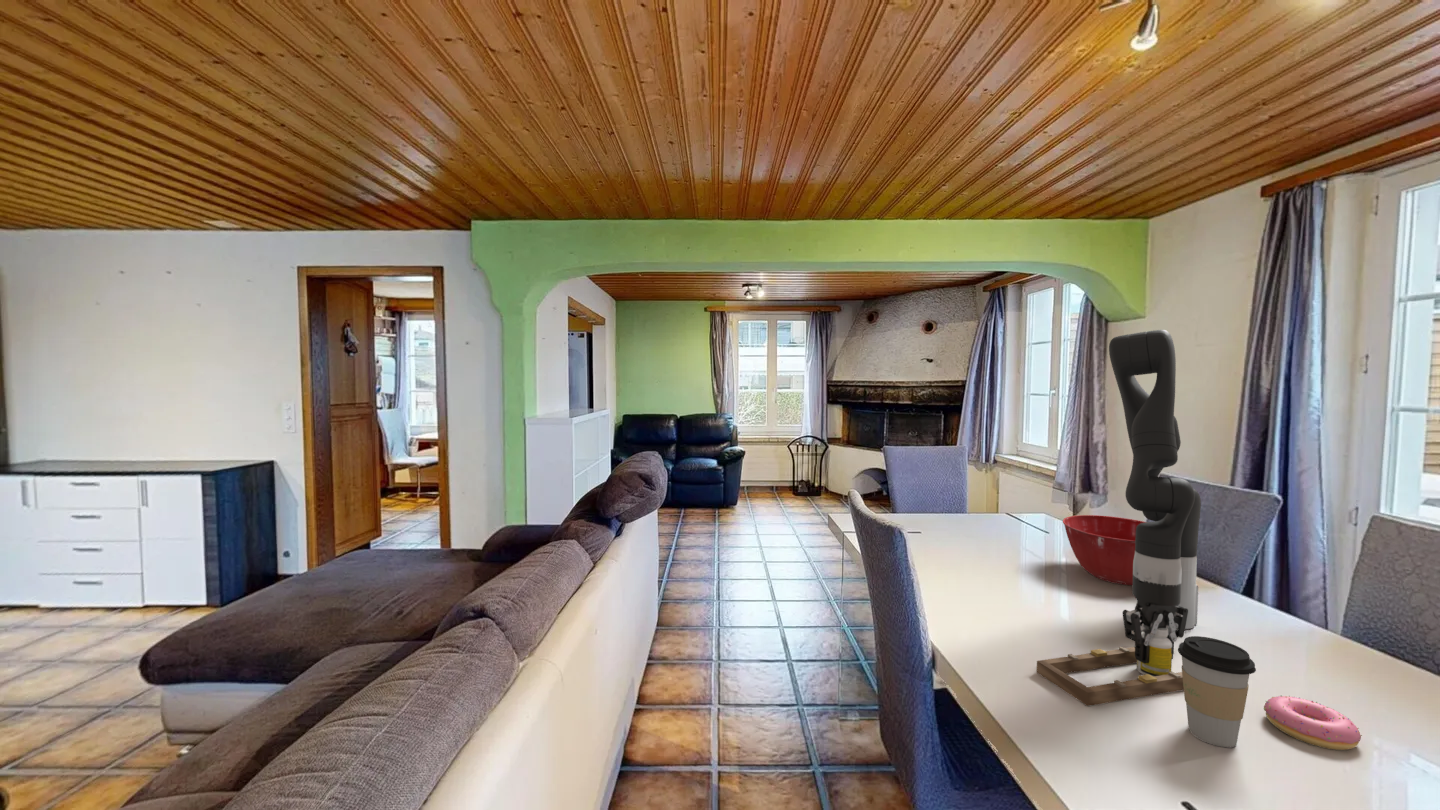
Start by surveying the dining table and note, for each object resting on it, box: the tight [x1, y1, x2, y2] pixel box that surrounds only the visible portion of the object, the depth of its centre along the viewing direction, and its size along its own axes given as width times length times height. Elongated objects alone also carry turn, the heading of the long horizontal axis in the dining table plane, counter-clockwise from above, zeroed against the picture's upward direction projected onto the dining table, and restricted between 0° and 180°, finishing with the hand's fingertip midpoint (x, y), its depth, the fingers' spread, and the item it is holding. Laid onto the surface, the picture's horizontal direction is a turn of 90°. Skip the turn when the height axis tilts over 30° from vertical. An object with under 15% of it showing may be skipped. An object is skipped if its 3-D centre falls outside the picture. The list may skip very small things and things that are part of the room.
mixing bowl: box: [1062, 514, 1146, 586], centre depth 161 cm, size 28×28×16 cm
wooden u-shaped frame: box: [1036, 646, 1184, 707], centre depth 106 cm, size 28×12×3 cm, turn 103°
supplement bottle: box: [1136, 623, 1173, 677], centre depth 108 cm, size 5×5×10 cm
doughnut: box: [1263, 695, 1363, 751], centre depth 90 cm, size 11×11×4 cm
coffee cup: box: [1177, 635, 1257, 748], centre depth 89 cm, size 9×9×15 cm
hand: (1154, 659), depth 108 cm, fingers closed on supplement bottle, 5 cm apart
